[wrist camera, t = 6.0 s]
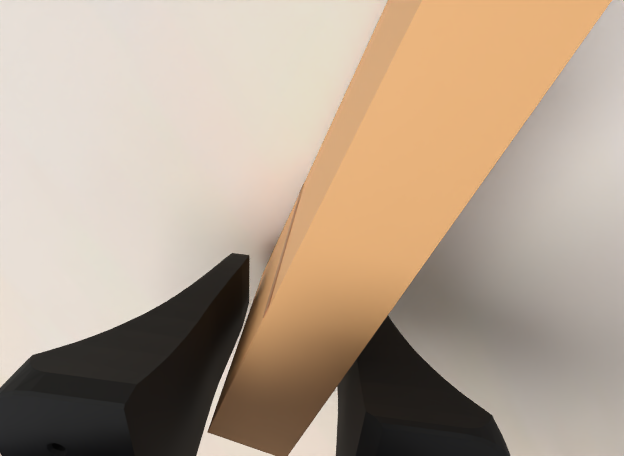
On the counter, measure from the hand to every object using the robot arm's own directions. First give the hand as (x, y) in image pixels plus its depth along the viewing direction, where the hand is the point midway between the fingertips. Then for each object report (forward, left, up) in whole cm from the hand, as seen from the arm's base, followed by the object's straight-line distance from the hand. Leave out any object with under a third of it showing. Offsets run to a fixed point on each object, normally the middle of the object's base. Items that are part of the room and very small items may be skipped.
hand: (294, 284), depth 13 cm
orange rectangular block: (0, -4, -2) cm, 5 cm away
